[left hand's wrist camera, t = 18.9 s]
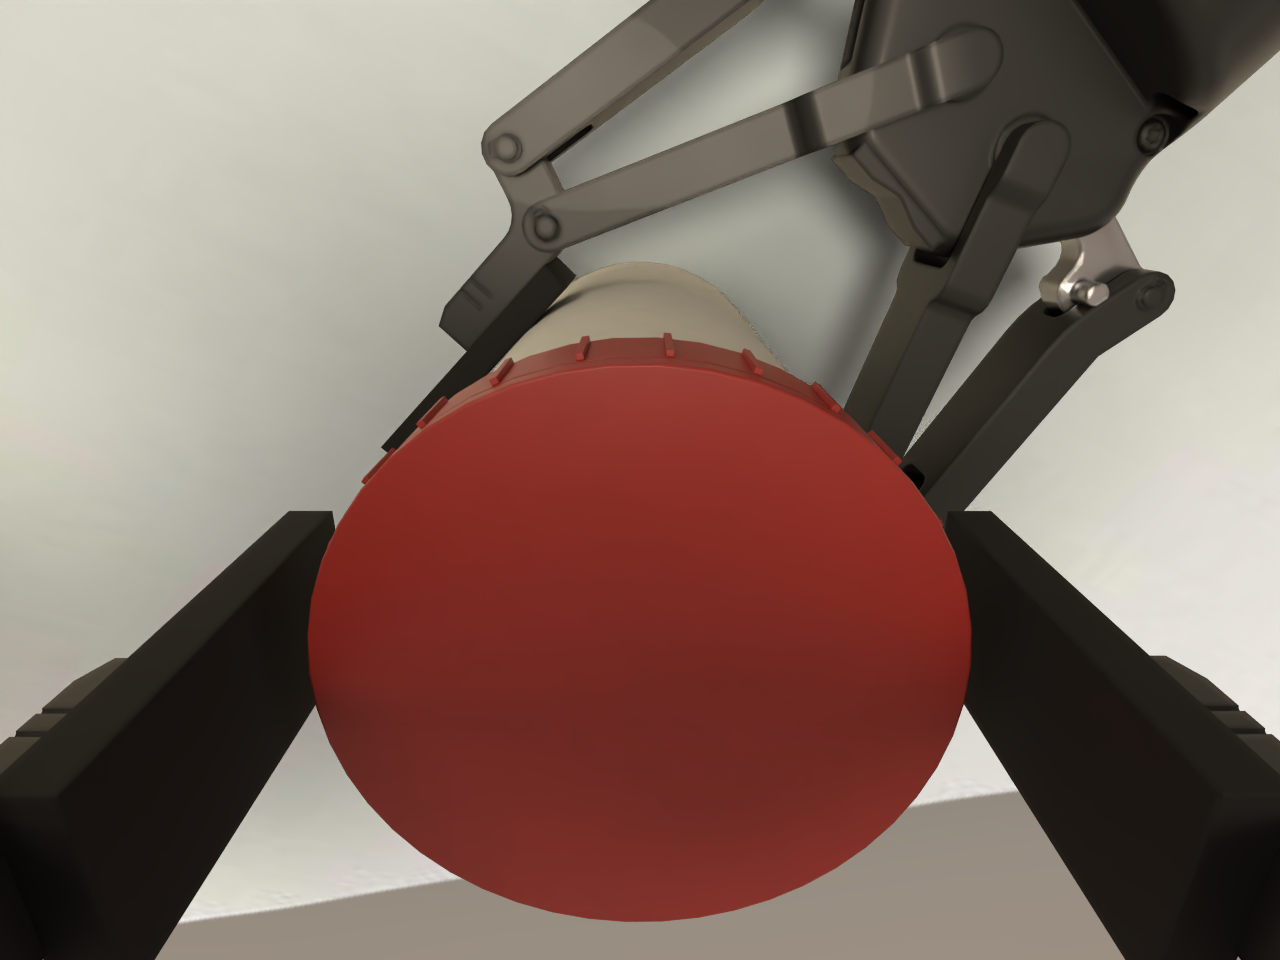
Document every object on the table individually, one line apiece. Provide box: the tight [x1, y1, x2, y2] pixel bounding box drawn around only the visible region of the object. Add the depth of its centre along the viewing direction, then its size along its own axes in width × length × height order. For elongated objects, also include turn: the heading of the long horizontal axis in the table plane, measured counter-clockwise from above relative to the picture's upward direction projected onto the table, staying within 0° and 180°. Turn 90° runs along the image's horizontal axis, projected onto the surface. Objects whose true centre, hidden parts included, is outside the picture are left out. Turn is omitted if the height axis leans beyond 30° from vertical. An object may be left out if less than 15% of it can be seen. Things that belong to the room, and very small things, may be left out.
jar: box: [493, 262, 788, 373], centre depth 19 cm, size 9×9×17 cm
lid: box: [308, 333, 972, 922], centre depth 11 cm, size 9×9×2 cm
